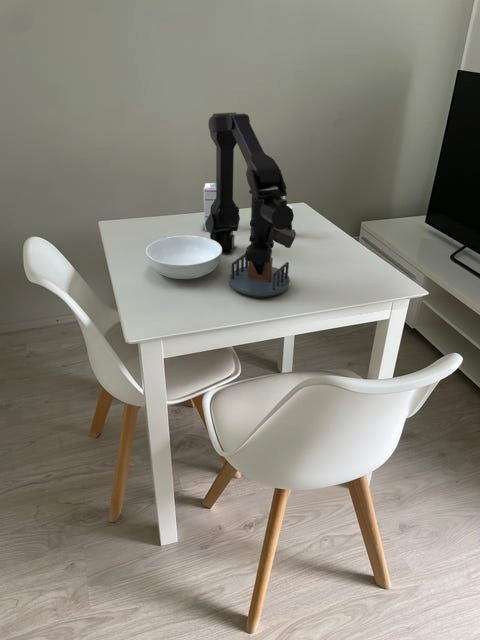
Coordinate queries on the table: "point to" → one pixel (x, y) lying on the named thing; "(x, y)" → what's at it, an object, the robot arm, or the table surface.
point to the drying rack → (259, 278)
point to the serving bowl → (184, 256)
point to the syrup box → (208, 199)
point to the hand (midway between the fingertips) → (260, 272)
